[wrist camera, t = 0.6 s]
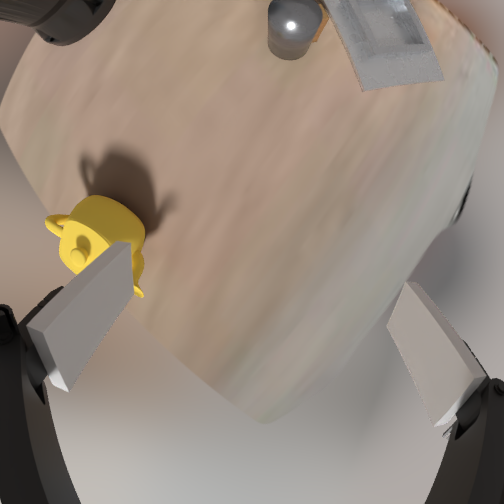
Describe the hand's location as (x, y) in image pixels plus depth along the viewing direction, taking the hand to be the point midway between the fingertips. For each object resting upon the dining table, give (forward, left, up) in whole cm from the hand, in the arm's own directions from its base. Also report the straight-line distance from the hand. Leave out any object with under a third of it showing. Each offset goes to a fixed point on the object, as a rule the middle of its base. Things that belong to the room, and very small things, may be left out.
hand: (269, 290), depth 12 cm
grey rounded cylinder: (-18, +9, -25) cm, 32 cm away
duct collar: (-18, +23, -25) cm, 39 cm away
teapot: (-2, -23, -25) cm, 34 cm away
